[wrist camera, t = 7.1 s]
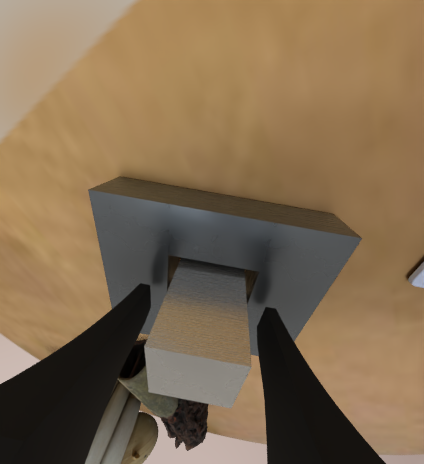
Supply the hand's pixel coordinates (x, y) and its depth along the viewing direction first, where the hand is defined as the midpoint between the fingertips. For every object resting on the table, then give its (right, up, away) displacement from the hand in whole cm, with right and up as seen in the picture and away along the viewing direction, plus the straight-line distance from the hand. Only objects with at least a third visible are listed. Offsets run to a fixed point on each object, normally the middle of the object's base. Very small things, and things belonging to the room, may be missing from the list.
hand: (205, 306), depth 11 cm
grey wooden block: (0, +2, +3) cm, 4 cm away
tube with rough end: (-4, -15, +14) cm, 21 cm away
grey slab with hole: (0, +2, +3) cm, 4 cm away
